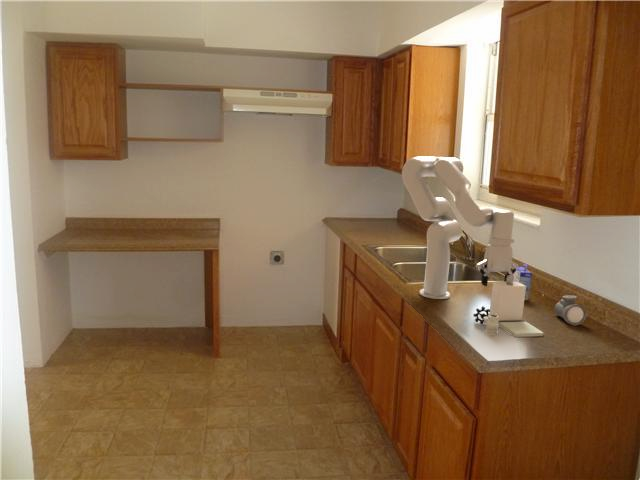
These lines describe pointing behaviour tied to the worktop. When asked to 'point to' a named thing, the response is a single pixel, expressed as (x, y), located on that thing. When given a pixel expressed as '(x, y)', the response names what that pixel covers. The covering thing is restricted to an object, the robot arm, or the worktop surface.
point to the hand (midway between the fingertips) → (495, 285)
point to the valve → (488, 321)
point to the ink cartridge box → (523, 278)
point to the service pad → (520, 329)
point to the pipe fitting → (570, 310)
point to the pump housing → (508, 300)
